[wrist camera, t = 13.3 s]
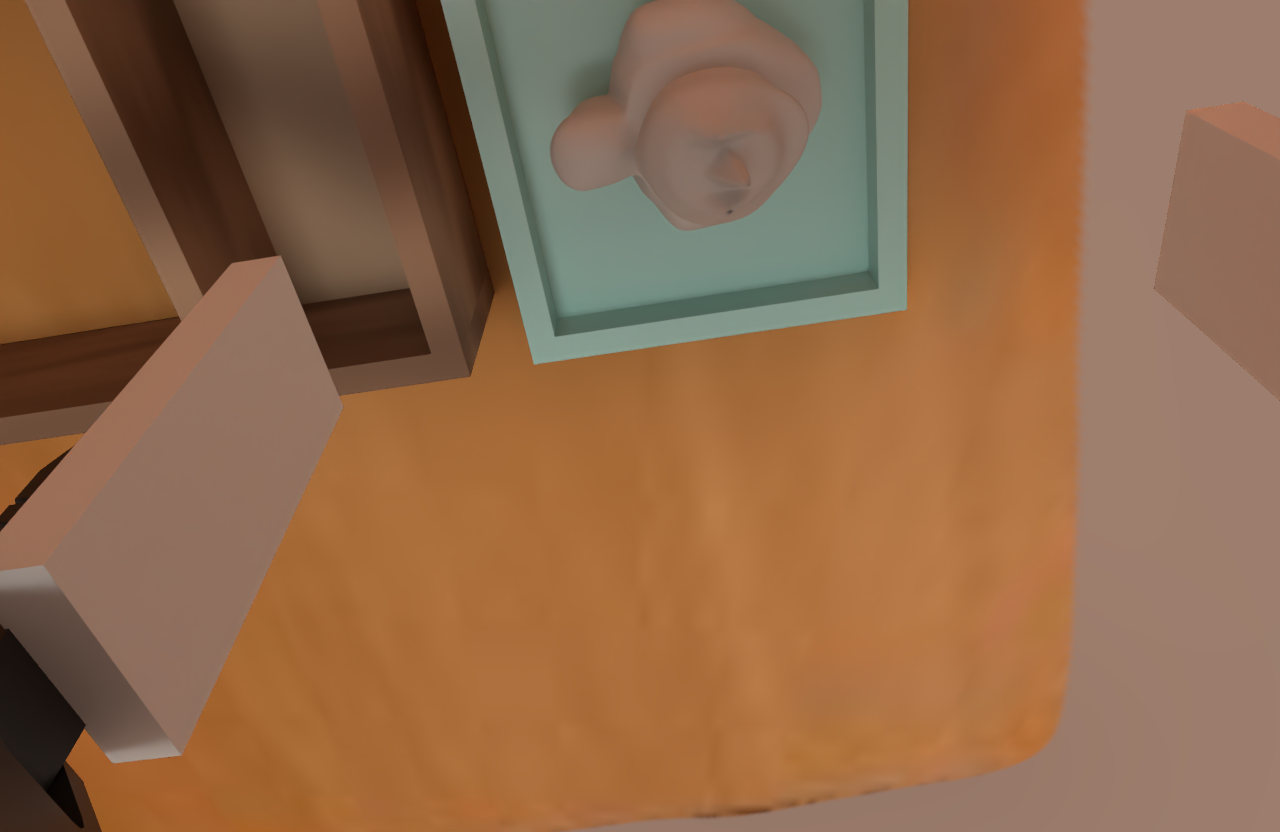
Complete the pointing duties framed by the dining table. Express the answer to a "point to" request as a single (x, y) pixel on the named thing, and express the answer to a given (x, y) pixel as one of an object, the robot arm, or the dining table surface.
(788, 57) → the rubber duck
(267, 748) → the dining table surface
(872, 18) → the tray
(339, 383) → the organizer
